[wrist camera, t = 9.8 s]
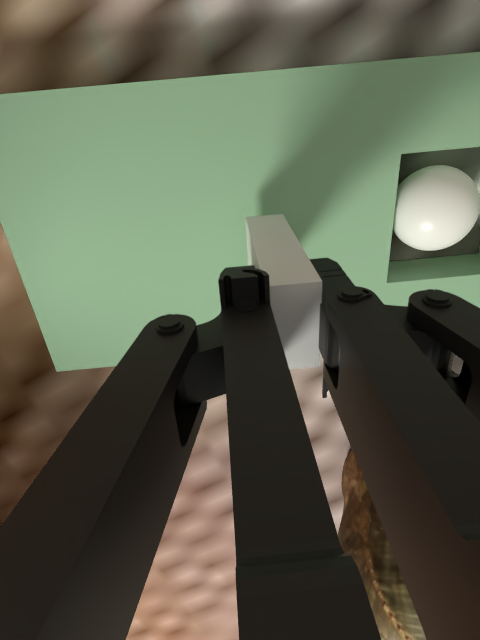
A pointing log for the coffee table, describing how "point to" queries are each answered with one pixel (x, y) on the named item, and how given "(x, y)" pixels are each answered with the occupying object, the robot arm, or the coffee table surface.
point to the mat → (218, 187)
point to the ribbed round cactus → (375, 559)
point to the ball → (435, 207)
